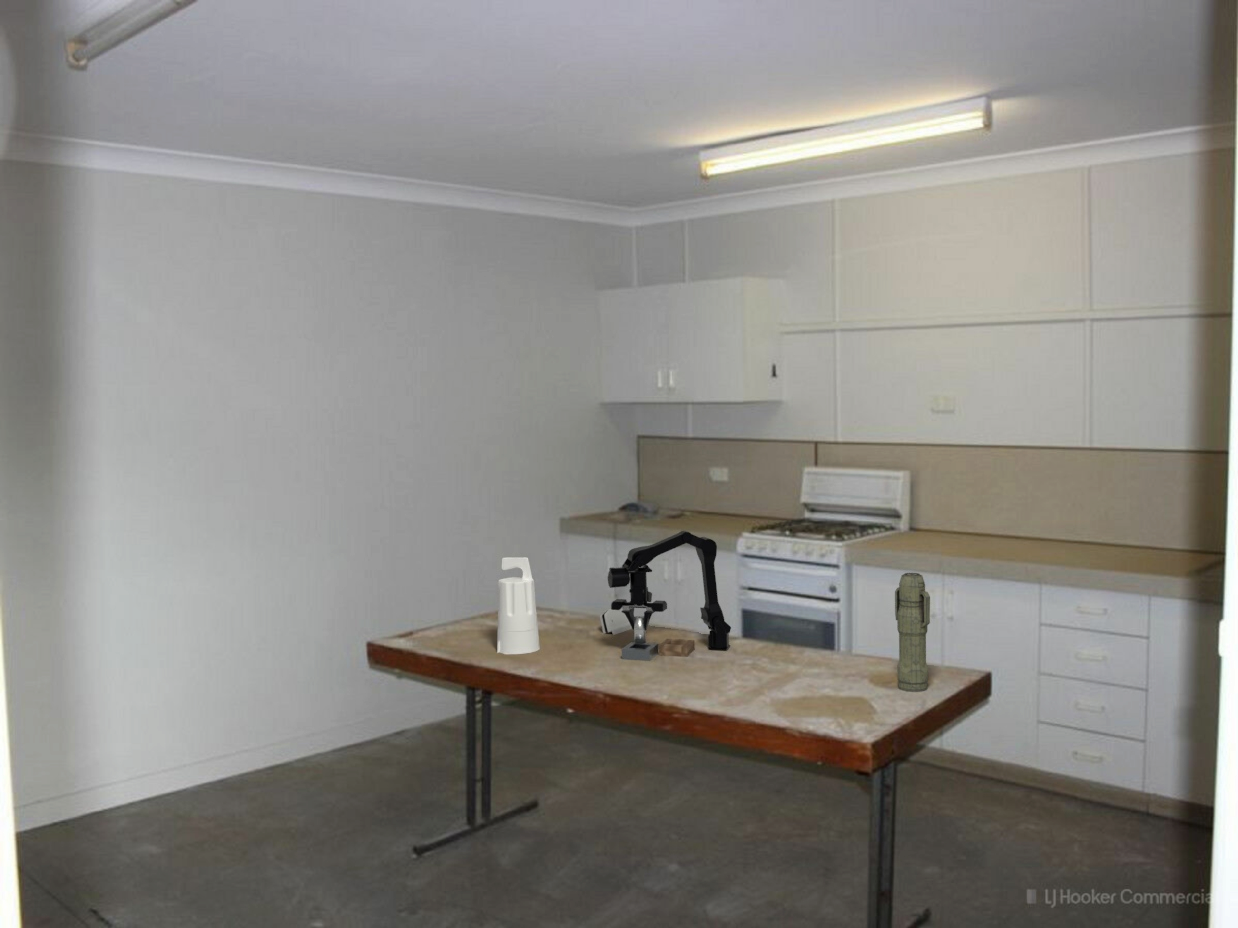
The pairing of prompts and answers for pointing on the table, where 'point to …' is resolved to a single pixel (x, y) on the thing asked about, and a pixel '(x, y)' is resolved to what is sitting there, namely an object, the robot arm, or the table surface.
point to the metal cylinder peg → (639, 630)
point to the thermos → (912, 632)
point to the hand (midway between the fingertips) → (639, 629)
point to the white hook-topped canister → (517, 610)
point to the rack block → (640, 651)
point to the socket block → (676, 647)
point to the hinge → (614, 621)
